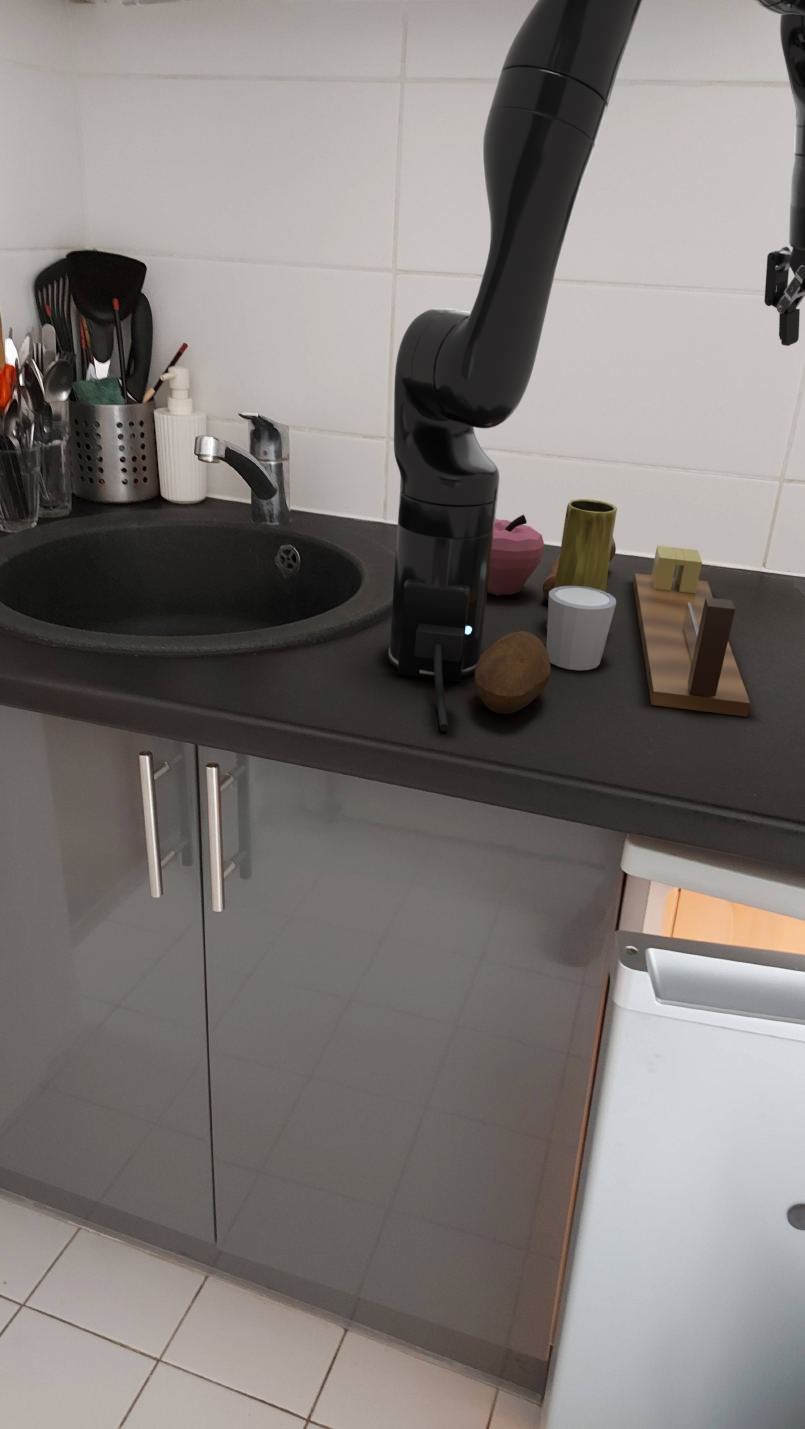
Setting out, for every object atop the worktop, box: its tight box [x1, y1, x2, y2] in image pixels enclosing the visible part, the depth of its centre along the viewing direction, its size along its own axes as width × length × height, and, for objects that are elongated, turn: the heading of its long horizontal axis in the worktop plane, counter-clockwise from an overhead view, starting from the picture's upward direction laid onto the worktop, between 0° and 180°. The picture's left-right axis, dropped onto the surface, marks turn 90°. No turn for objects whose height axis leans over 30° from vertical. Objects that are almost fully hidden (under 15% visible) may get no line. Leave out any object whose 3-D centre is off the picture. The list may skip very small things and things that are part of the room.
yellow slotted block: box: [650, 545, 703, 593], centre depth 124 cm, size 5×5×4 cm
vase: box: [546, 498, 618, 629], centre depth 109 cm, size 6×6×14 cm
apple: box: [487, 514, 545, 597], centre depth 120 cm, size 10×9×10 cm
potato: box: [474, 630, 552, 715], centre depth 93 cm, size 7×12×7 cm, turn 164°
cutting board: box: [632, 572, 751, 718], centre depth 112 cm, size 36×9×2 cm, turn 171°
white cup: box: [546, 586, 617, 671], centre depth 104 cm, size 7×7×7 cm
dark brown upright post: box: [683, 597, 736, 696], centre depth 101 cm, size 18×2×9 cm, turn 171°
